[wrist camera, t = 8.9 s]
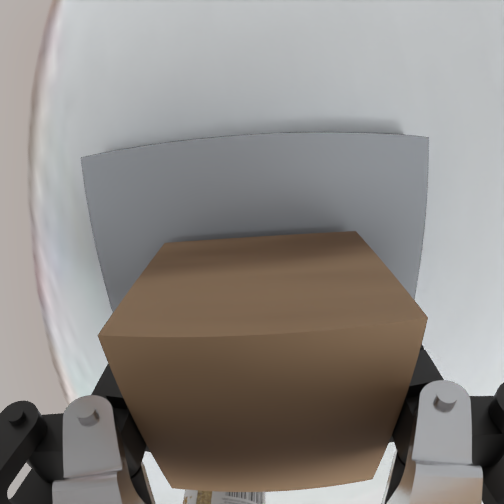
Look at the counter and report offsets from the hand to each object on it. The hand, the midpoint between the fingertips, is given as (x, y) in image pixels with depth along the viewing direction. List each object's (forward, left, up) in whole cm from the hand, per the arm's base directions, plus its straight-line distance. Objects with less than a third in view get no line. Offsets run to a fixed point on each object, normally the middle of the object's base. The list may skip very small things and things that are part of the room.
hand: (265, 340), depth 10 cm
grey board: (0, 0, -4) cm, 4 cm away
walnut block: (0, 0, -1) cm, 1 cm away
